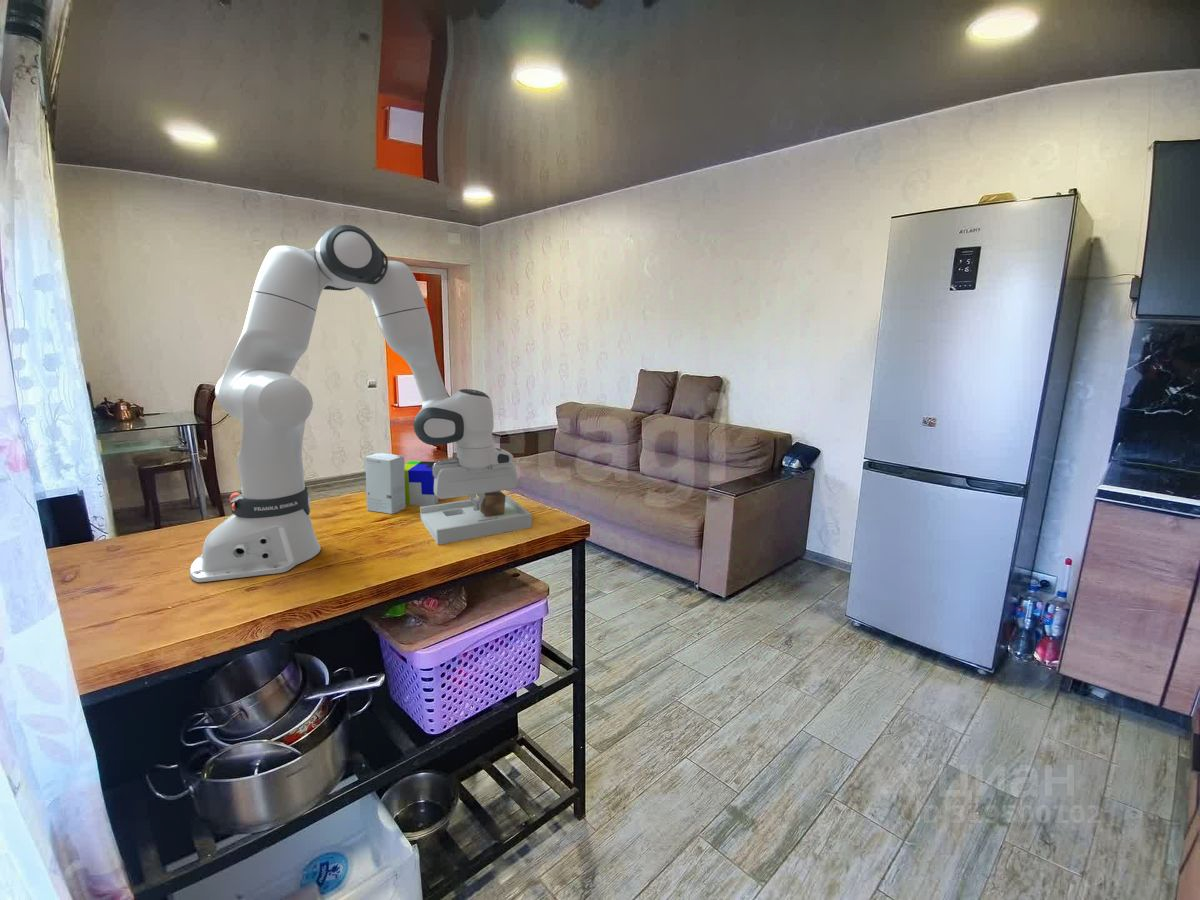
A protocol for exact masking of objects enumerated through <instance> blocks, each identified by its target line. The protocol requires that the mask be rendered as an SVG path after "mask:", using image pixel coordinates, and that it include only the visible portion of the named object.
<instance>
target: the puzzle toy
mask: <svg viewBox="0 0 1200 900" xmlns="http://www.w3.org/2000/svg"><path fill="white" fill-rule="evenodd" d="M436 462H437V461H428V460H427V461H422V460H421V461H419V460H415V461H414V460H408V461H407V462H406V463H404V466H405V506H417V507H419V506H420V507H423V506H430V505H437V504H438V503H439V502H440V501H441V500H442V499H439V498H438V497H437V496H436V495H435V494H434V476H433V472H432V468H433V465H434V464H435V463H436ZM438 464H439V463H438ZM438 464H436V465H438Z"/></svg>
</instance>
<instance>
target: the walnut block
mask: <svg viewBox="0 0 1200 900" xmlns="http://www.w3.org/2000/svg"><path fill="white" fill-rule="evenodd" d="M506 495H507V494H506ZM506 495H505V493H504V492H503V491H496V492H489V493H485V498H484V500H483V501H482V503H481V510H480V511H481V512H482V513H483V514H484V515H485V516H488V515H502V514H504V509H505V497H506Z"/></svg>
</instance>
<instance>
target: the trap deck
mask: <svg viewBox="0 0 1200 900" xmlns="http://www.w3.org/2000/svg"><path fill="white" fill-rule="evenodd" d="M504 494H505V493H504ZM505 495H506V497H505V509H504V514H502V515H488V516H485V515H484V514H483V513H482V512H481V511H480V510H479V511H474V510H473V503H472V501H471V500H470V499H467V500H466V499H464V500H458V501H451V502H443V503H439V504H438V503H437V504H436V505H430V506H420V507H419V511H420V513H419V515H420V521H421V522H422V525H424V527H425V529H426V530H427V531H428V533H429V534H430V535H431V536H432V539H433V540H434V541H435V543H436V544H437V545H445V544H451V543H456V542H461V541H467V540H473V539H477V538H481V537H488V536H492V535H493V536H494V535H498V534H504V533H508V532H514V531H520V530H521V531H522V530H525V529H532V527H533V525H532V524H533V523H532V518H533V516H532V513H531V512H529V511H528V510H527V509H526V508H524V506H522V505H521V504H519V503H518V502H516V501H515V500H514V499H513V498H511V497H510V496H509V495H507V494H505ZM474 499H475V501H477V499H478V497H476V498H474Z"/></svg>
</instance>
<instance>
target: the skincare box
mask: <svg viewBox="0 0 1200 900" xmlns="http://www.w3.org/2000/svg"><path fill="white" fill-rule="evenodd" d="M364 459H365V463H364V464H365V488H366V489H365V494H366V510H367V511H369V512H375V513H382V514H383V513H384V514H389V515H393V514H395V513H397V512H400V511H402V510H404V509H406V505H405V466H404V465H405V456H404V455H399V454H393V453H384V452H377V453H373V454H370V455H369V454H368V455H366V456H364Z"/></svg>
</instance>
